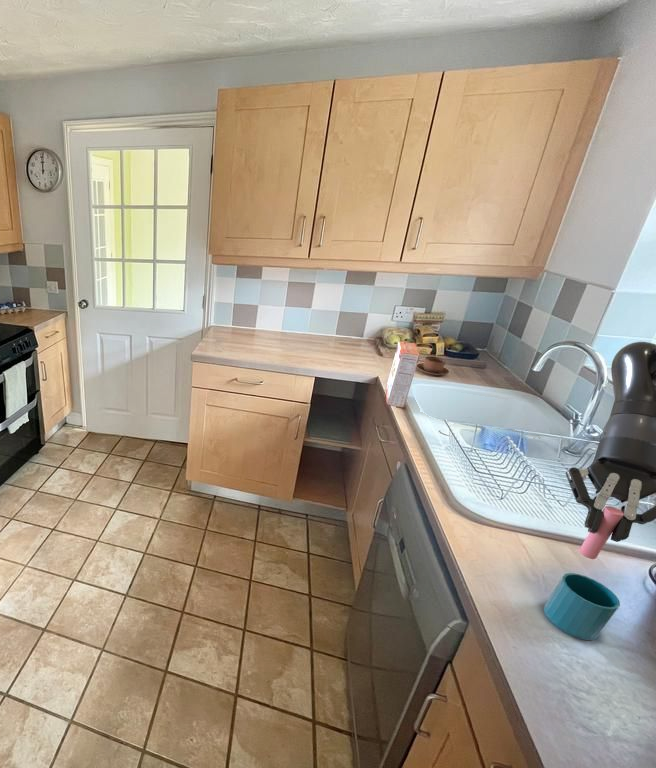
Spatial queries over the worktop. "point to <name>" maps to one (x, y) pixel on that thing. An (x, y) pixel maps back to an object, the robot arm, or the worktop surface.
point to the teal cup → (581, 606)
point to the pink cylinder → (601, 533)
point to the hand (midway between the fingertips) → (604, 535)
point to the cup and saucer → (433, 366)
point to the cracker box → (401, 374)
